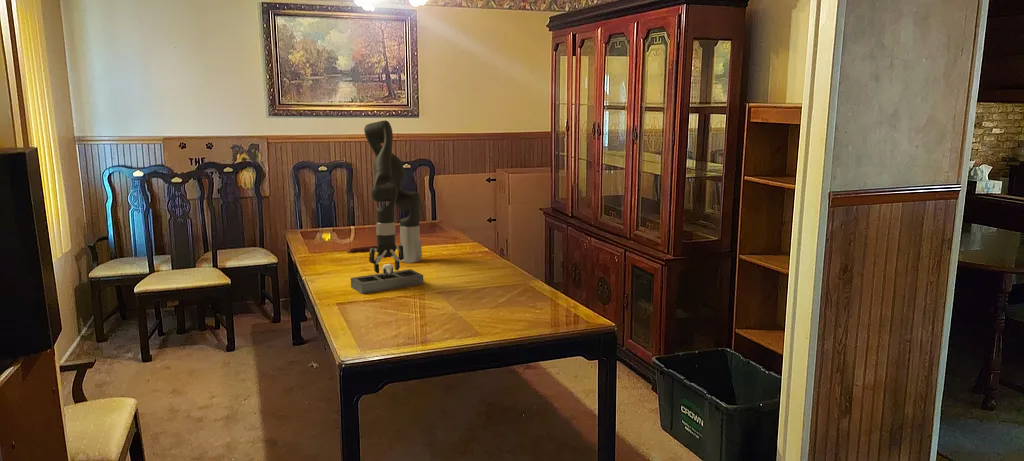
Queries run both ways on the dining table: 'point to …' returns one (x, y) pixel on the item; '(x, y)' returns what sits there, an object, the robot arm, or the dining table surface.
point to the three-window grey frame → (386, 281)
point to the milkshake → (387, 271)
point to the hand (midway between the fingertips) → (387, 271)
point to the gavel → (361, 249)
